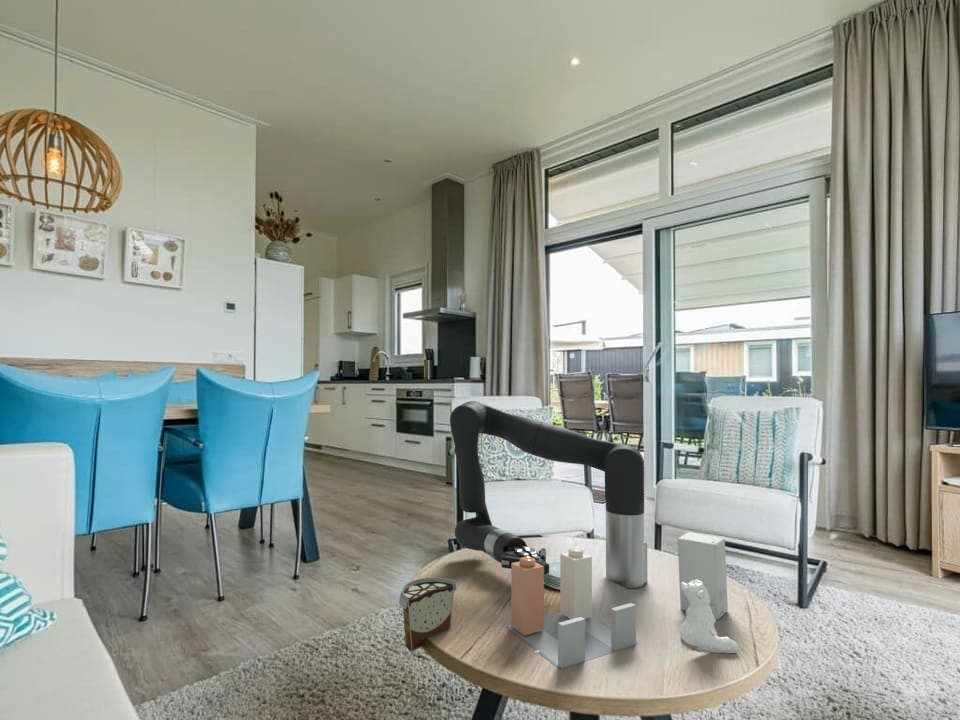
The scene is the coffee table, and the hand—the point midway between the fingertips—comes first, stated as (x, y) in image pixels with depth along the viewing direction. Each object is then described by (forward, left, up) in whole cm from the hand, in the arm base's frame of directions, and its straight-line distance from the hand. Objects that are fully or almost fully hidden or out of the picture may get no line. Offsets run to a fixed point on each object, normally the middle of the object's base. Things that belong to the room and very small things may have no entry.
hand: (546, 569), depth 115 cm
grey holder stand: (+6, +16, -8) cm, 18 cm away
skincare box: (-28, +19, -8) cm, 34 cm away
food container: (+30, +1, -8) cm, 31 cm away
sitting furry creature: (-15, +29, -8) cm, 33 cm away
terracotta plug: (+12, +10, -6) cm, 17 cm away
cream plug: (0, +10, -6) cm, 12 cm away
